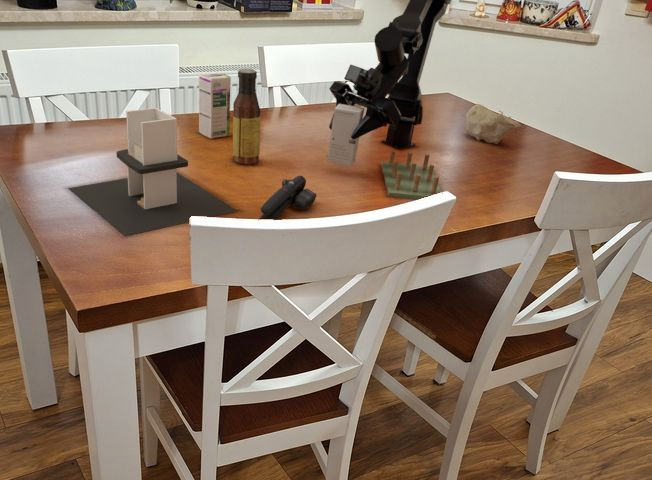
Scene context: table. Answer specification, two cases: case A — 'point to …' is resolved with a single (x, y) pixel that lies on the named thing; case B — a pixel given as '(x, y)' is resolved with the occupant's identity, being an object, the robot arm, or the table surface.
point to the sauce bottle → (246, 120)
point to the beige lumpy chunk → (489, 124)
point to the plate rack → (409, 178)
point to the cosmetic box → (344, 134)
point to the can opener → (288, 198)
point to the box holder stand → (150, 181)
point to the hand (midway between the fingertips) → (340, 133)
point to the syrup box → (214, 104)
